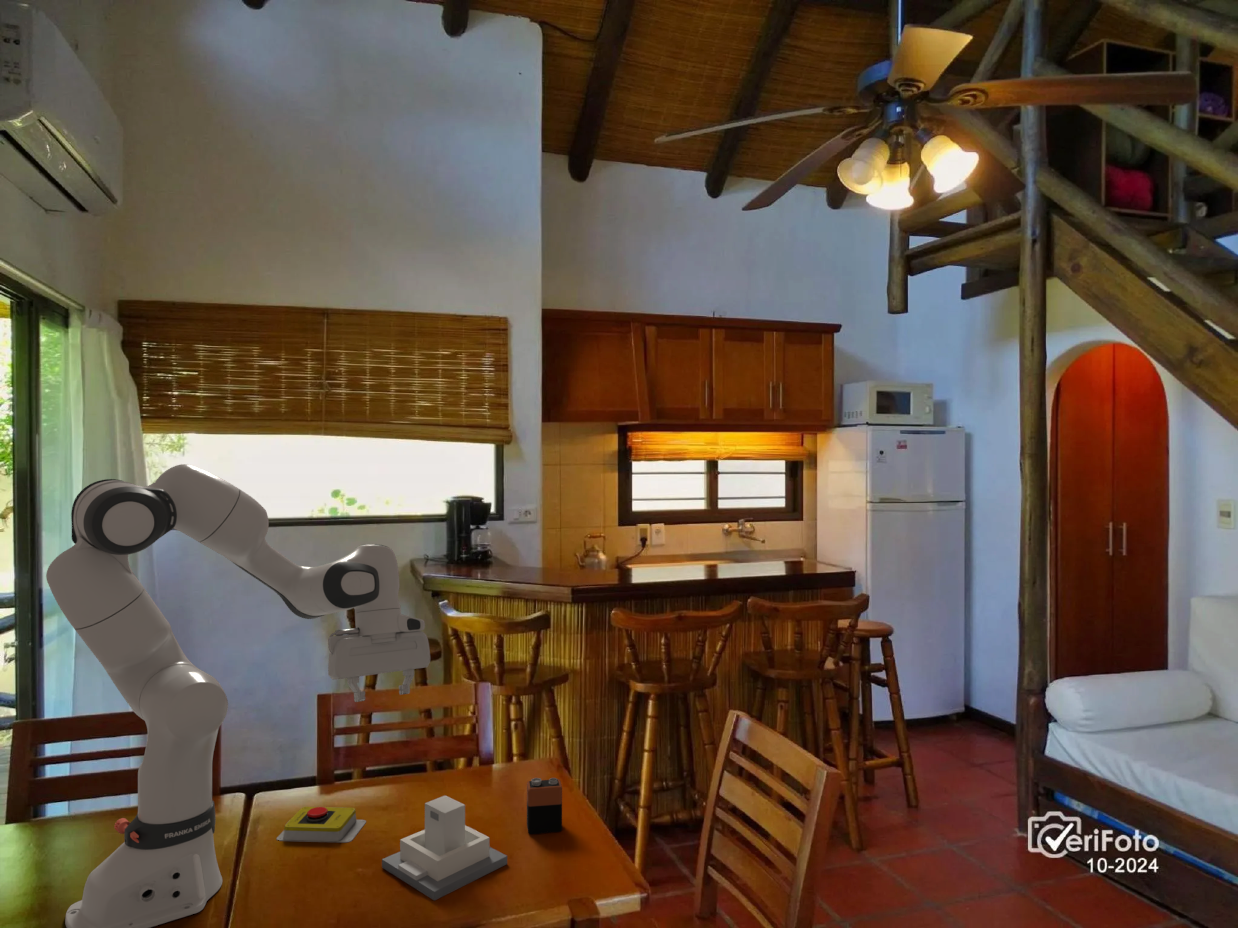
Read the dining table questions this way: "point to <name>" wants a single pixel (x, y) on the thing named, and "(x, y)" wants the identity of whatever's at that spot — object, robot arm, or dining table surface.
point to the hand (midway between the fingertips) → (382, 697)
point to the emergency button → (322, 825)
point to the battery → (544, 806)
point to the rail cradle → (443, 863)
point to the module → (444, 825)
